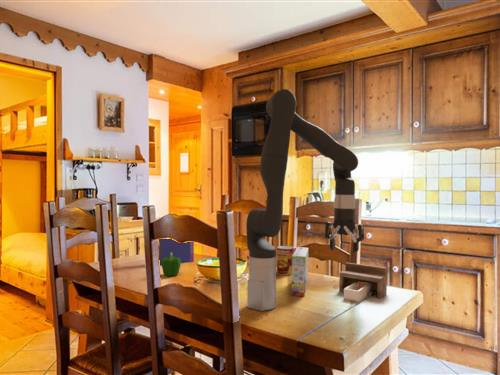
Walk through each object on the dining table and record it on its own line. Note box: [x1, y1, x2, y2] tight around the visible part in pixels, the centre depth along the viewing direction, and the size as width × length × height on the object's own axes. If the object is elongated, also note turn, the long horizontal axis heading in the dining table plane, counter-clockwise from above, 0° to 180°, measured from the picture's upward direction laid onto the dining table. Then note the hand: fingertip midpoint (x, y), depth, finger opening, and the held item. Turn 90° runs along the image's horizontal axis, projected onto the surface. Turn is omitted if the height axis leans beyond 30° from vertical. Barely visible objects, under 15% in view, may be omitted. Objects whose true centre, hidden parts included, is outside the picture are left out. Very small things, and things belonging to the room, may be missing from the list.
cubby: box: [338, 262, 388, 299], centre depth 147 cm, size 7×16×10 cm, turn 54°
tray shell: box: [343, 281, 372, 302], centre depth 143 cm, size 14×6×4 cm, turn 144°
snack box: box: [290, 246, 310, 297], centre depth 153 cm, size 21×6×15 cm, turn 168°
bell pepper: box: [161, 253, 181, 277], centre depth 173 cm, size 8×8×10 cm
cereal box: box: [158, 217, 195, 266], centre depth 200 cm, size 17×5×24 cm, turn 120°
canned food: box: [276, 245, 295, 276], centre depth 178 cm, size 8×8×12 cm
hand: (343, 251), depth 140 cm, fingers open, 8 cm apart
